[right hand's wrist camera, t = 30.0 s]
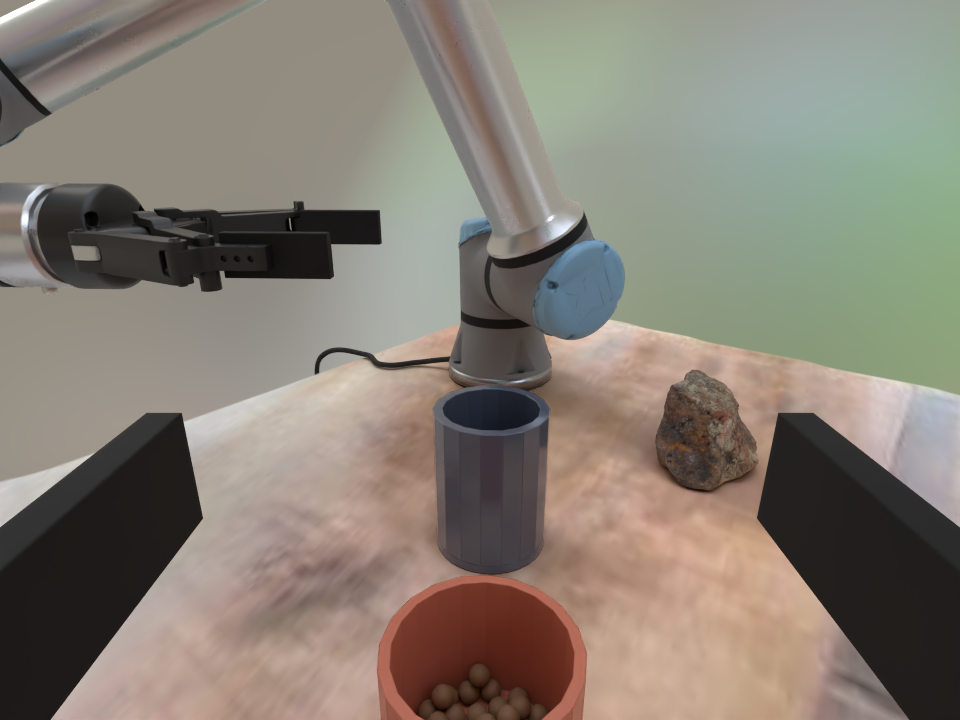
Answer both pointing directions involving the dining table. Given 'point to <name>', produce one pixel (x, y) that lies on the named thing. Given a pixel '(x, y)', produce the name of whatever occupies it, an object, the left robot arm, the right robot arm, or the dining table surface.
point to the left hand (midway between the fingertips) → (359, 239)
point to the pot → (482, 647)
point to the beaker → (490, 477)
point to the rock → (704, 434)
